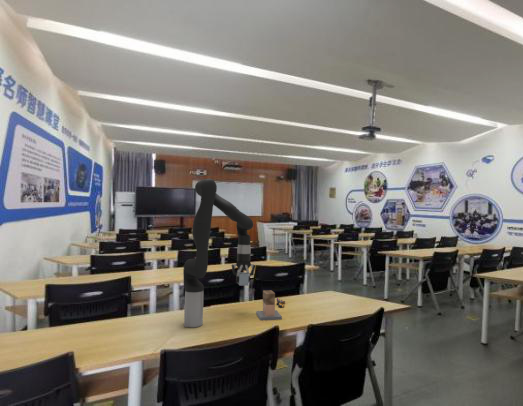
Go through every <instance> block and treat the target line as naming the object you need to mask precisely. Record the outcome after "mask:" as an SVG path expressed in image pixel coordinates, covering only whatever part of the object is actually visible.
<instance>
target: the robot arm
mask: <svg viewBox="0 0 523 406" xmlns="http://www.w3.org/2000/svg"><path fill="white" fill-rule="evenodd" d="M194 190H195V192H196V194H197V195H198V196H199V197H200V202H199V205H198V206H199V207H198V209H197V212H196V213H195V215H194V218H193V223H192V229H191V234H192V238H193V239H192V240H193V243H194V245H195V248H196V254H195V256H196V257H195V258H189V259H187V260H186V261H185V263H184V265H183V269H182V270H183V274H182V275H183V286H184V290H185V291H184V309H183V310H184V312H183V313H184V315H183V316H184V317H183V327H184V328H185V327H186V328H198V327H202V326H203V324H204V323H203V322H204V320H203V318H204V284H203V283H202V282H201V281H200V280H199V279H202V278H204V277H205V275H206V274H207V271H208V264H209V263H208V261H209V241H210V235H211V230H212V229H211V228H212V216H213V211H214V210H213V209H214V207H216V208H217V209H218V210H220V211H221V212H222V213H223V214H224V215H225V216H226V217H227V218H228V219H230V220H231V221H233V222H235V224H236V232H237V237H238V239H237V241H238V242H237V252H236V253H237V254H236V263H233V264H231V268H232V269H231V270H232V274H233V276H236V277H235V278H236V279H235V281H236V284H238V283H239V274H240V272H242V271H244V272H247V274H249V281H248V284H249V283H250V281H251V276H253V275H254V273H255V269H256V264H253V263H252V262H251V252H252V251H251V248H252V247H251V235H250V234H249V233H248V231H250V230H252V229H253V227H254V221H253V219H251V217H249V216H248V215H247V214H245V213H244V212H242V211H241V210H239V209H238V207H237V206H235V205H234V204H233V203H232V202H230V201H228V200H227V199H225V198H223V197H221V196H220V195H219V194H217V190H218V187H217V182H216V181H215V180H214V179H212V178H204V179H201V180H199V181H197V182H196V183H195V187H194ZM236 267H237V271H236V270H235V269H236ZM250 268H251V270H249V269H250Z"/></svg>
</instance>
